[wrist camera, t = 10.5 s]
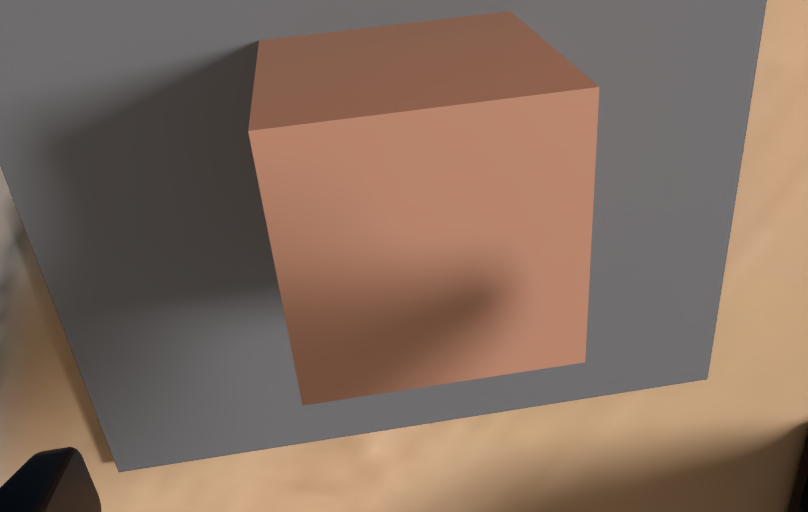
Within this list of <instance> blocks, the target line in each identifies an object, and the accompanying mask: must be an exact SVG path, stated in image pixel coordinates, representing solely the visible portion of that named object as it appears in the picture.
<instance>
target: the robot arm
mask: <svg viewBox="0 0 808 512" xmlns="http://www.w3.org/2000/svg"><path fill="white" fill-rule="evenodd" d="M0 512H101V503H100V499H99V496H98V493H97V491H96V489H95V486H94V484H93V481H92V479H91V477H90V474H89V472H88V469H87V467H86V465H85V462H84V460H83V457H82V455H81V454H80V452H79V451H78V450H77V449H75V448H72V447H67V448H60V449H54V450H47V451H42V452H39V453H37V454H35V455H34V456H32V457H31V458H30V459H29V460H28V461H27V462H26V463H25V464H24V465H23V466H22V467H21V468H20V469H19V470H18V471H17V472H16V473H15V474H14V475H13V476H12V477H11V478H10V479H9V480H8V481H7V482H6V483H5V484H4V485H3V486H1V487H0ZM788 512H808V437H807V440H806V444H805V448H804V452H803V456H802V460H801V464H800V467H799V471H798V475H797V479H796V483H795V487H794V491H793V495H792V499H791V502H790V506H789V510H788Z"/></svg>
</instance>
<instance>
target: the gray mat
mask: <svg viewBox="0 0 808 512" xmlns="http://www.w3.org/2000/svg"><path fill="white" fill-rule="evenodd" d="M766 2H767V0H0V166H1V169H2V171H3V174H4V176H5V179H6V182H7V184H8V187H9V189H10V192H11V195H12V197H13V200H14V202H15V205H16V208H17V210H18V213H19V215H20V218H21V220H22V223H23V226H24V228H25V231H26V233H27V236H28V239H29V241H30V244H31V246H32V249H33V252H34V254H35V257H36V259H37V262H38V265H39V267H40V270H41V272H42V275H43V278H44V280H45V283H46V285H47V288H48V290H49V293H50V296H51V298H52V301H53V303H54V306H55V309H56V311H57V314H58V316H59V319H60V322H61V324H62V327H63V329H64V332H65V335H66V337H67V340H68V342H69V345H70V347H71V350H72V353H73V355H74V358H75V360H76V363H77V366H78V368H79V371H80V373H81V376H82V379H83V381H84V384H85V386H86V389H87V392H88V394H89V397H90V399H91V402H92V405H93V407H94V410H95V412H96V415H97V417H98V420H99V423H100V425H101V428H102V430H103V433H104V436H105V438H106V441H107V443H108V446H109V449H110V451H111V454H112V456H113V459H114V462H115V464H116V467H117V469H118V472H124V471H130V470H137V469H143V468H149V467H156V466H162V465H168V464H174V463H181V462H187V461H193V460H200V459H206V458H212V457H219V456H225V455H231V454H238V453H244V452H250V451H257V450H263V449H269V448H276V447H282V446H288V445H295V444H301V443H307V442H313V441H320V440H326V439H332V438H339V437H345V436H351V435H358V434H364V433H370V432H377V431H383V430H389V429H396V428H402V427H408V426H415V425H421V424H427V423H434V422H440V421H446V420H453V419H459V418H465V417H471V416H478V415H484V414H490V413H497V412H503V411H509V410H516V409H522V408H528V407H535V406H541V405H547V404H554V403H560V402H566V401H573V400H579V399H585V398H592V397H598V396H604V395H611V394H617V393H623V392H629V391H636V390H642V389H648V388H655V387H661V386H667V385H674V384H680V383H686V382H693V381H699V380H705V379H707V378H708V372H709V365H710V359H711V353H712V346H713V340H714V333H715V327H716V321H717V314H718V308H719V302H720V295H721V289H722V282H723V276H724V270H725V263H726V257H727V251H728V244H729V238H730V232H731V225H732V219H733V212H734V206H735V200H736V193H737V187H738V181H739V174H740V168H741V161H742V155H743V149H744V142H745V136H746V130H747V123H748V117H749V110H750V104H751V98H752V91H753V85H754V79H755V72H756V66H757V59H758V53H759V47H760V40H761V34H762V28H763V21H764V15H765V9H766ZM506 11H511V12H512V13H513V14H514V15H515V16H516V17H518V18H519V19H520V20H521V21H522V22H523V23H525V24H526V25H527V26H528V27H529V28H531V29H532V30H533V31H534V32H535V33H536V34H538V35H539V36H540V37H541V38H542V39H544V40H545V41H546V42H547V43H548V44H549V45H551V46H552V47H553V48H554V49H555V50H556V51H558V52H559V53H560V54H561V55H562V56H564V57H565V58H566V59H567V60H568V61H569V62H571V63H572V64H573V65H574V66H575V67H577V68H578V69H579V70H580V71H581V72H582V73H584V74H585V75H586V76H587V77H588V78H589V79H591V80H592V81H593V82H594V83H595V84H597V85H598V86H599V106H598V125H597V145H596V164H595V183H594V203H593V222H592V241H591V261H590V280H589V300H588V319H587V338H586V358H585V362H584V363H578V364H571V365H565V366H558V367H551V368H545V369H538V370H532V371H525V372H519V373H512V374H506V375H499V376H493V377H486V378H480V379H473V380H467V381H460V382H454V383H447V384H441V385H434V386H428V387H421V388H415V389H408V390H402V391H395V392H389V393H382V394H376V395H369V396H363V397H356V398H350V399H343V400H337V401H330V402H324V403H317V404H311V405H304V406H302V401H301V396H300V391H299V386H298V381H297V376H296V370H295V365H294V360H293V355H292V350H291V345H290V340H289V335H288V330H287V325H286V320H285V315H284V310H283V305H282V300H281V295H280V290H279V285H278V279H277V274H276V269H275V264H274V259H273V254H272V249H271V244H270V239H269V234H268V229H267V224H266V219H265V214H264V209H263V204H262V199H261V194H260V189H259V183H258V178H257V173H256V168H255V163H254V158H253V153H252V148H251V143H250V138H249V133H248V128H249V120H250V111H251V103H252V95H253V86H254V78H255V70H256V62H257V53H258V45H259V40H266V39H275V38H283V37H292V36H301V35H309V34H318V33H326V32H335V31H343V30H352V29H361V28H369V27H378V26H386V25H395V24H404V23H412V22H421V21H429V20H438V19H446V18H455V17H464V16H472V15H481V14H489V13H498V12H506Z"/></svg>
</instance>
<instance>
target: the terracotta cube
mask: <svg viewBox="0 0 808 512" xmlns="http://www.w3.org/2000/svg"><path fill="white" fill-rule="evenodd" d="M598 106H599V86H598V85H597V84H595V83H594V82H593V81H592V80H591V79H589V78H588V77H587V76H586V75H585V74H584V73H582V72H581V71H580V70H579V69H578V68H577V67H575V66H574V65H573V64H572V63H571V62H569V61H568V60H567V59H566V58H565V57H564V56H562V55H561V54H560V53H559V52H558V51H556V50H555V49H554V48H553V47H552V46H551V45H549V44H548V43H547V42H546V41H545V40H544V39H542V38H541V37H540V36H539V35H538V34H536V33H535V32H534V31H533V30H532V29H531V28H529V27H528V26H527V25H526V24H525V23H523V22H522V21H521V20H520V19H519V18H518V17H516V16H515V15H514V14H513V13H512V12H511V11H506V12H498V13H489V14H481V15H472V16H464V17H455V18H446V19H438V20H429V21H421V22H412V23H404V24H395V25H386V26H378V27H369V28H361V29H352V30H343V31H335V32H326V33H318V34H309V35H301V36H292V37H283V38H275V39H266V40H259V45H258V53H257V62H256V70H255V78H254V86H253V95H252V103H251V111H250V120H249V128H248V133H249V138H250V143H251V148H252V153H253V158H254V163H255V168H256V173H257V178H258V183H259V189H260V194H261V199H262V204H263V209H264V214H265V219H266V224H267V229H268V234H269V239H270V244H271V249H272V254H273V259H274V264H275V269H276V274H277V279H278V285H279V290H280V295H281V300H282V305H283V310H284V315H285V320H286V325H287V330H288V335H289V340H290V345H291V350H292V355H293V360H294V365H295V370H296V376H297V381H298V386H299V391H300V396H301V401H302V406H304V405H311V404H317V403H324V402H330V401H337V400H343V399H350V398H356V397H363V396H369V395H376V394H382V393H389V392H395V391H402V390H408V389H415V388H421V387H428V386H434V385H441V384H447V383H454V382H460V381H467V380H473V379H480V378H486V377H493V376H499V375H506V374H512V373H519V372H525V371H532V370H538V369H545V368H551V367H558V366H565V365H571V364H578V363H584V362H585V358H586V338H587V319H588V300H589V280H590V261H591V241H592V222H593V203H594V183H595V164H596V145H597V125H598Z"/></svg>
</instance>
